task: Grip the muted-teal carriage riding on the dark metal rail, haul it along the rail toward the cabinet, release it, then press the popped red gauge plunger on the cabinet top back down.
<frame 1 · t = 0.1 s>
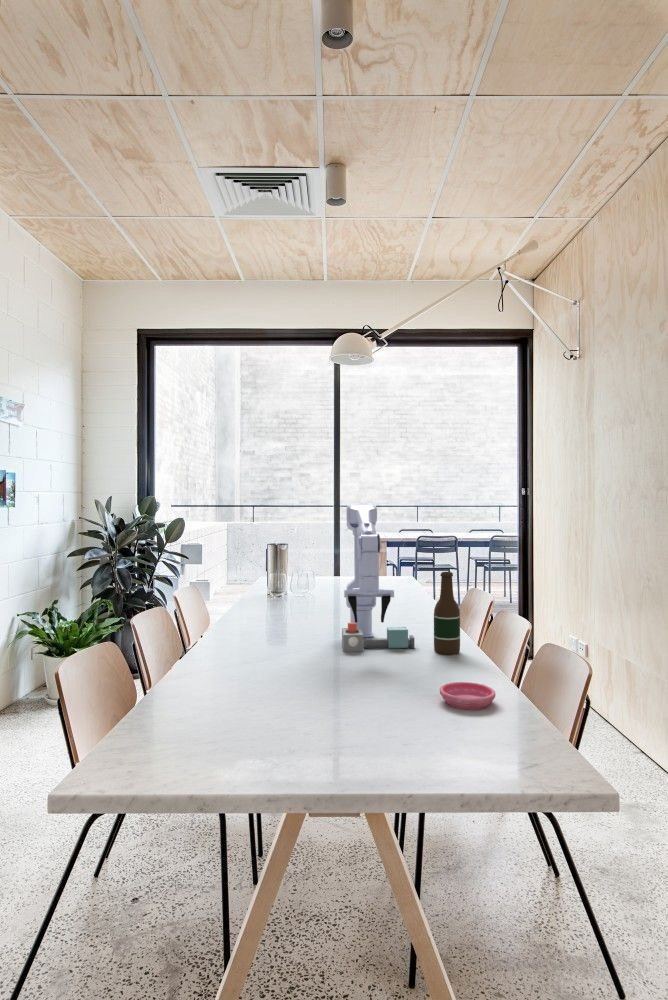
hand: (369, 621, 187), 10 cm above the table, fingers open, 7 cm apart
rail: (389, 647, 198), on the table
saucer: (467, 704, 145), on the table
carriage: (397, 637, 198), point 3 cm above the table, slide at 0.0 cm
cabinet: (352, 647, 197), on the table
beer bottle: (447, 652, 191), on the table
plunger: (352, 629, 197), point 6 cm above the table, slide at 0.0 cm
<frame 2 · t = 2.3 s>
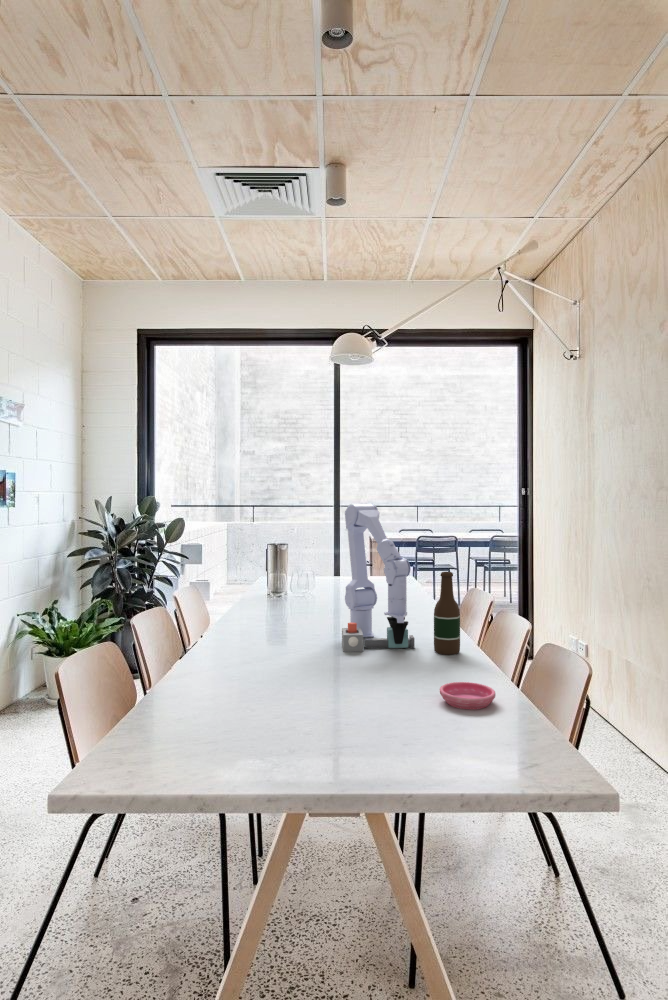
hand: (397, 641, 198), 2 cm above the table, fingers closed on carriage, 4 cm apart
carriage: (397, 637, 198), point 3 cm above the table, slide at 0.0 cm, touching gripper
everything else where it was.
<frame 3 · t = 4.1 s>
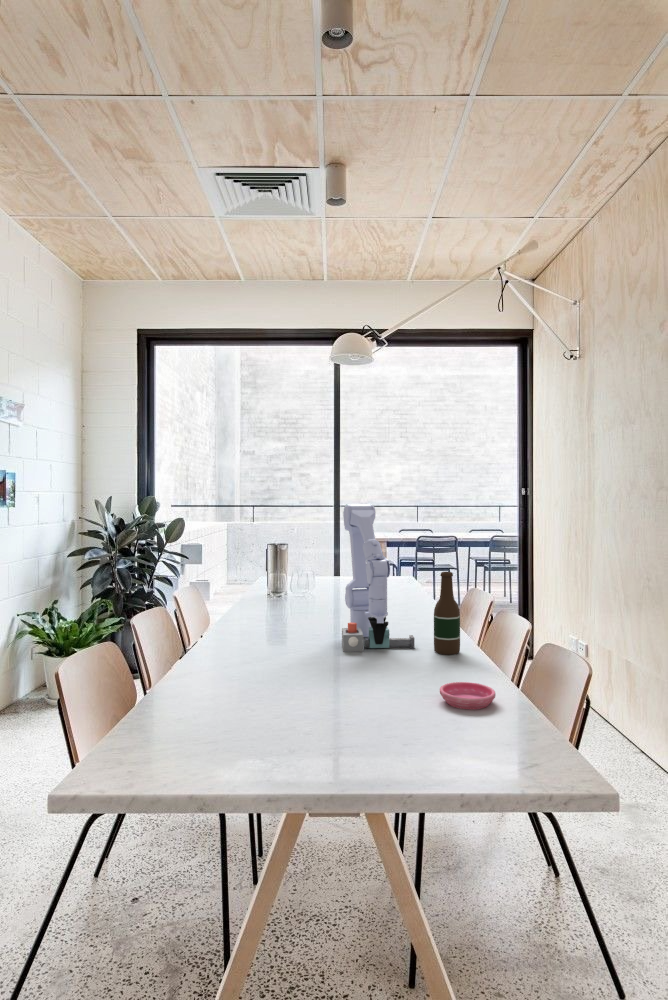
hand: (378, 642, 198), 2 cm above the table, fingers closed on carriage, 4 cm apart
carriage: (378, 637, 198), point 3 cm above the table, slide at 5.8 cm, touching gripper
everything else where it was.
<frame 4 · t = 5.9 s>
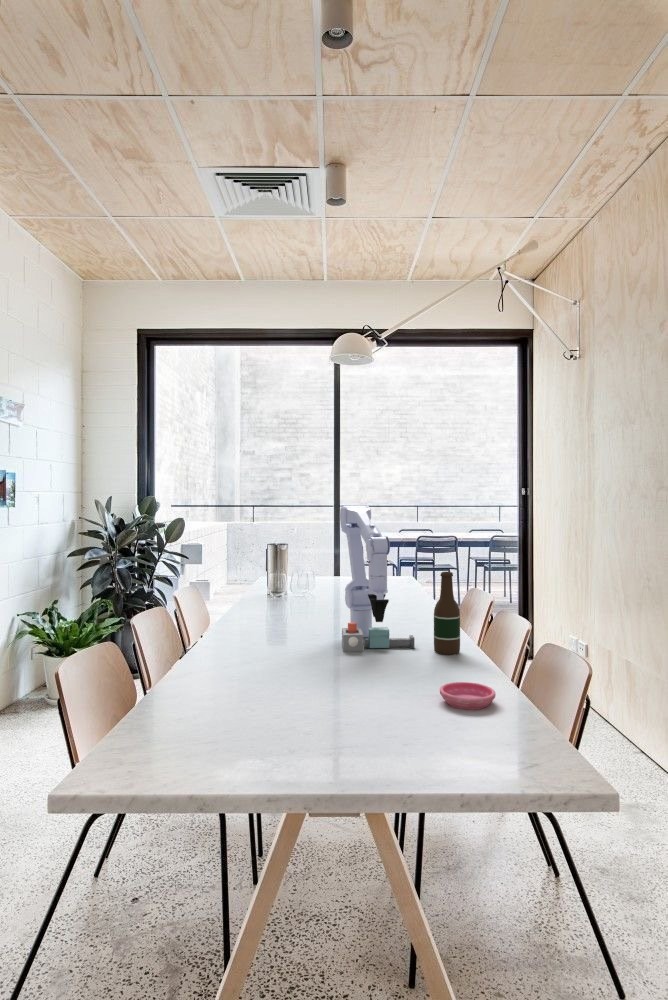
hand: (377, 619, 198), 9 cm above the table, fingers open, 7 cm apart
carriage: (378, 637, 198), point 3 cm above the table, slide at 5.8 cm
everything else where it was.
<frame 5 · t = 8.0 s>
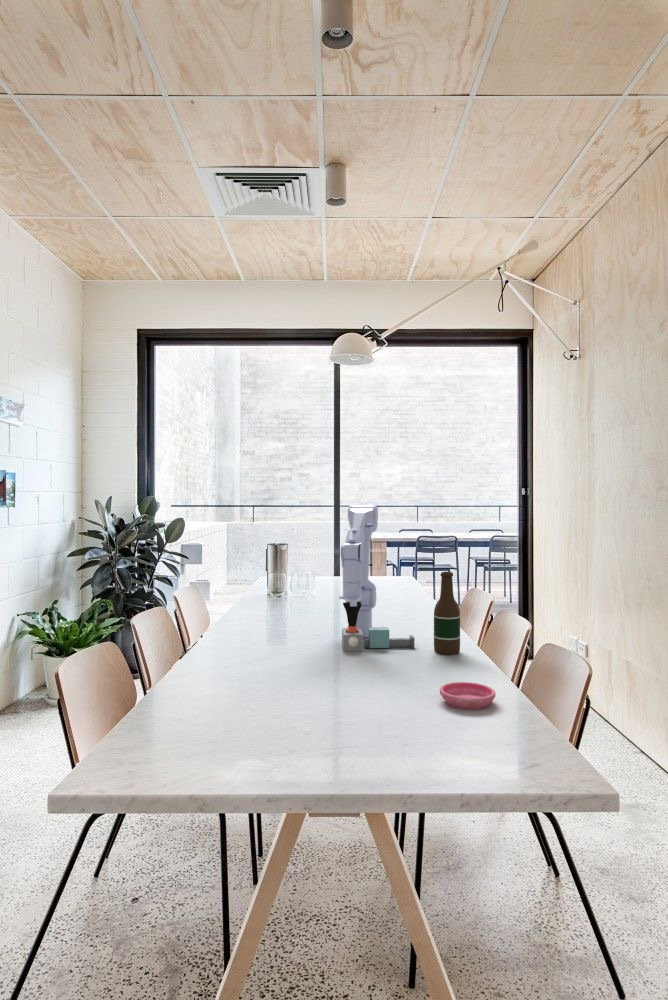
hand: (352, 625, 197), 7 cm above the table, fingers closed, pressing on plunger
plunger: (352, 632, 197), point 5 cm above the table, slide at 0.8 cm, touching gripper
everything else where it was.
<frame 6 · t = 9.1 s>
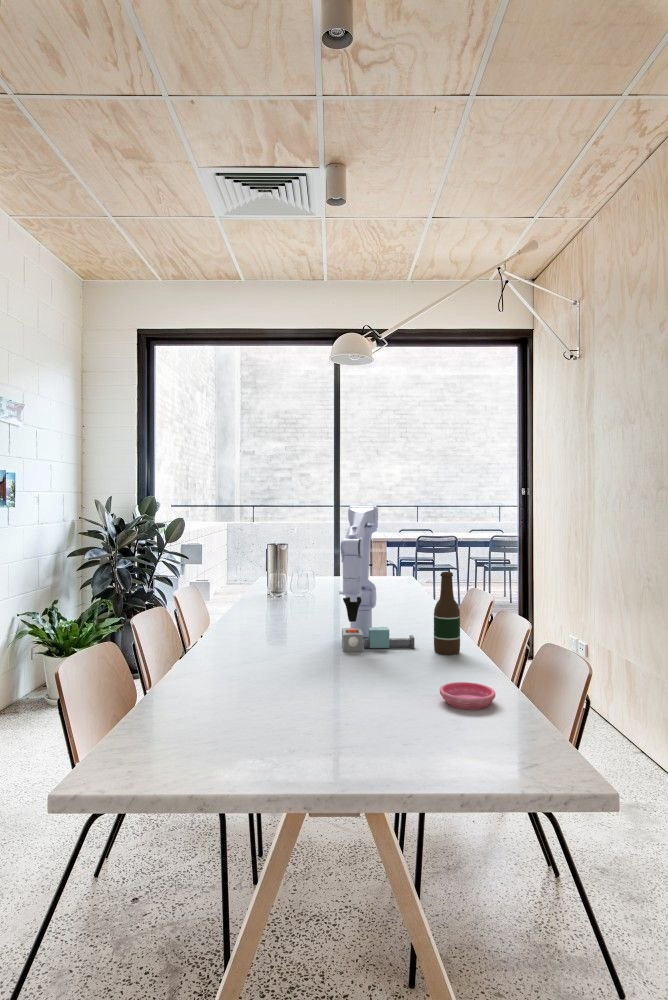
hand: (352, 621, 197), 8 cm above the table, fingers closed
plunger: (352, 635, 197), point 4 cm above the table, slide at 1.9 cm
everything else where it was.
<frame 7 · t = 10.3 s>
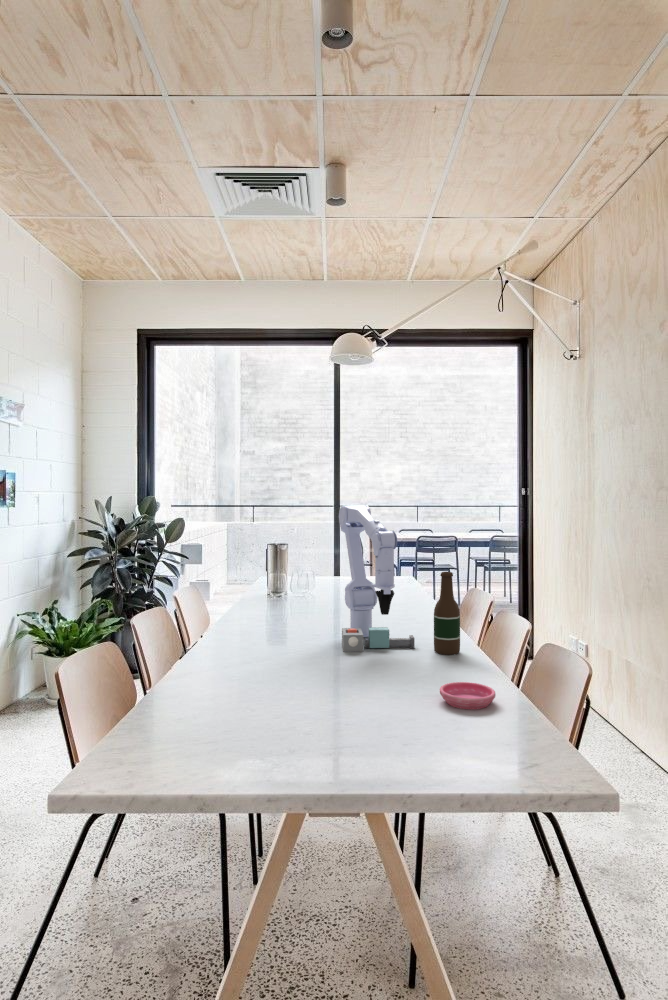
hand: (384, 614, 197), 10 cm above the table, fingers closed
nothing on the table moved.
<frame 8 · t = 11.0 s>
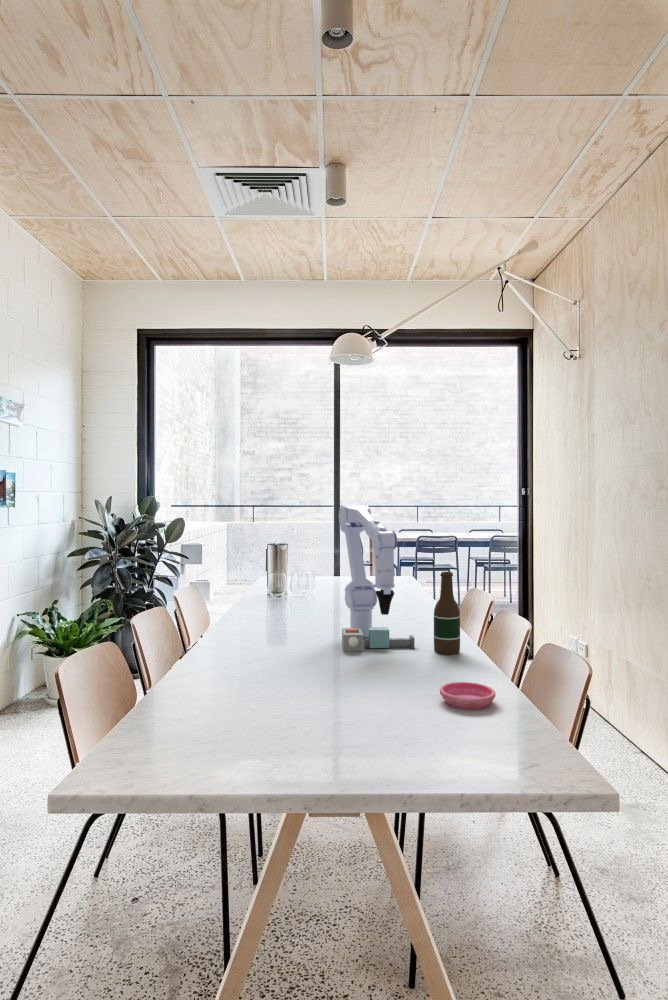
hand: (384, 614, 197), 10 cm above the table, fingers closed
nothing on the table moved.
at the end: carriage slide at 5.8 cm; plunger slide at 1.9 cm; the gripper is holding nothing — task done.
